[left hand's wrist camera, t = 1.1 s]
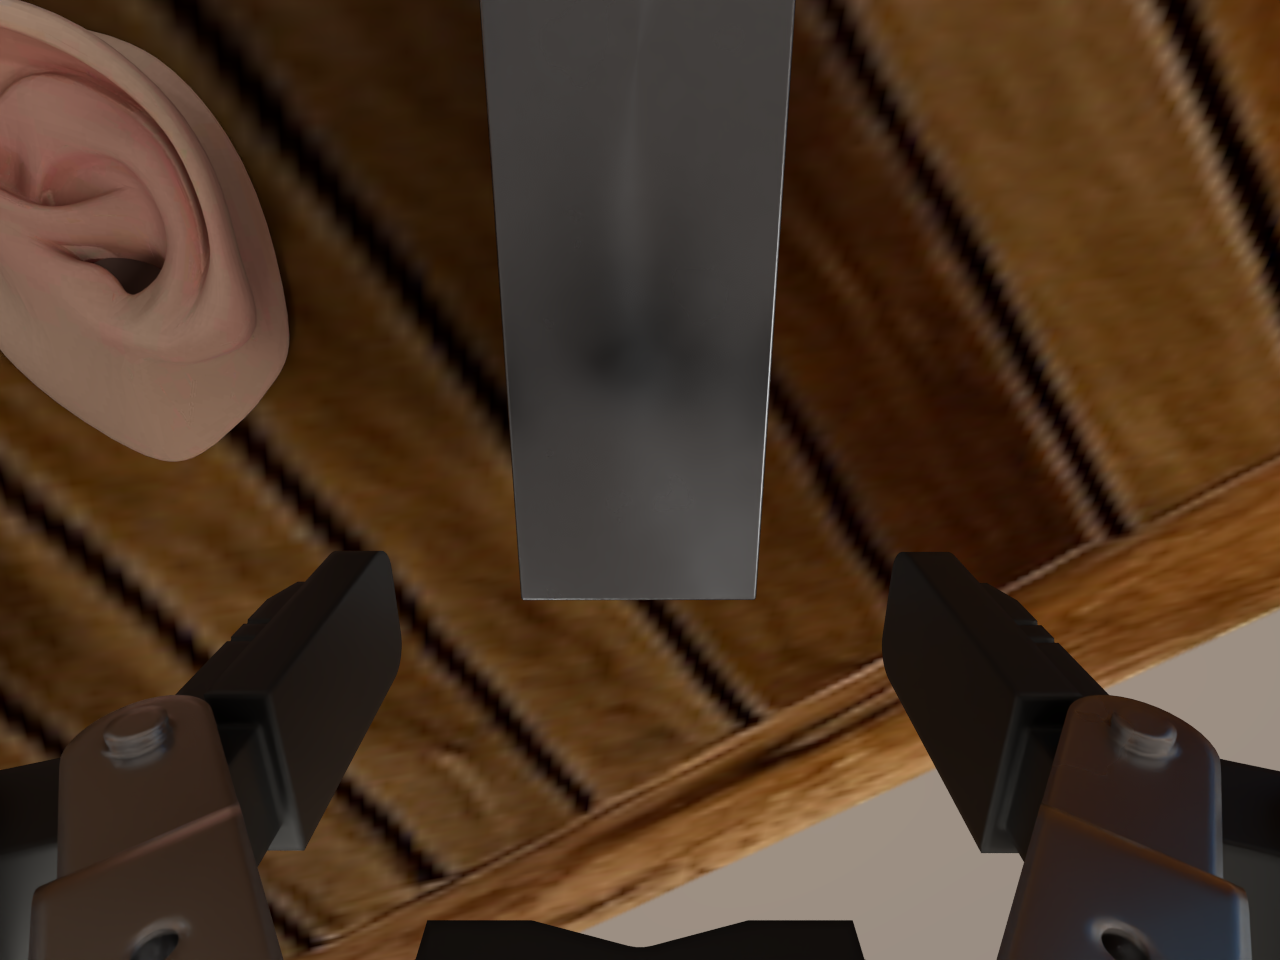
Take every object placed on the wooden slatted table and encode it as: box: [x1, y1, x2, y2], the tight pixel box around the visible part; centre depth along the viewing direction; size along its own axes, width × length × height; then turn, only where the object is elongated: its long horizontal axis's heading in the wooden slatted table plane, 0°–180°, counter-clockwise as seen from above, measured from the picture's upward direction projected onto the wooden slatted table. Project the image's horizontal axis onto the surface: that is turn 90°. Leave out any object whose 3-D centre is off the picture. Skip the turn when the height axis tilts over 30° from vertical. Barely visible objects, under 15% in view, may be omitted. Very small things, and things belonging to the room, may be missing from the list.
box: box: [479, 0, 796, 600], centre depth 18 cm, size 25×6×9 cm, turn 0°
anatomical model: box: [0, 0, 289, 461], centre depth 22 cm, size 13×4×12 cm
